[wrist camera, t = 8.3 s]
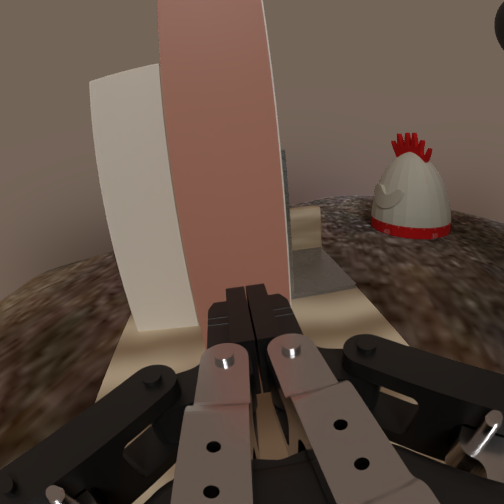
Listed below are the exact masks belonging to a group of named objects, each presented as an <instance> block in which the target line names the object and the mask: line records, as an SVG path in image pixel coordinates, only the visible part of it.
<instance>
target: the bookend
mask: <svg viewBox="0 0 504 504" xmlns="http://www.w3.org/2000/svg"><path fill="white" fill-rule="evenodd" d="M281 158H282V170H283V181H284V193H285V206H286V220H287V234H288V250H289V267H290V285H291V299H297V298H303V297H309V296H315V295H321V294H326V293H332V292H337V291H343V290H348V289H353V288H356V283H355V282H354V281H353V280H352V279H351V278H350V277H349V276H348V275H347V274H346V273H345V272H344V271H343V270H342V269H341V268H340V267H339V265H338V264H337V263H336V262H335V261H334V260H333V259H332V258H331V257H330V256H329V255H328V254H327V253H326V252H325V251H324V250H323V249H322V248H321V247H316V248H308V249H301V250H294V251H292V236H291V221H290V206H289V193H288V182H287V168H286V159H285V150H283V149H281Z"/></svg>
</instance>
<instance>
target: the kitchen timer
mask: <svg viewBox="0 0 504 504" xmlns="http://www.w3.org/2000/svg"><path fill="white" fill-rule="evenodd" d="M391 142H392V146H393V149H394V151H395V154H396V156H397V158H396V159H395V160H394V161H392V163H391V164H390V165H389V166H388V167H387V169H386V170H385V172H384V174H383V175H382V177H381V179H380V181H379V184H377V185H376V186H375V191H374V192H375V197H374V200H373V205H372V212H371V225H372V226H373V227H374V228H375V229H376V230H378V231H380V232H382V233H386V234H389V235H392V236H398V237H403V238H412V239H433V238H440V237H443V236H446V235H448V234H449V233H450V229H451V209H450V204H449V199H448V195H447V191H446V188H445V185H444V182H443V180H442V178H441V176H440V174H439V173H438V171H437V170H436V169H435V167H434V166H433V165H432V164H431V163H430V162H429V160H430V157H431V153H432V149H431V148H428V150H427V152H426V154H425V155H424V146H425V141H424V140H421V141H420V143H419V144H418V138H417V133H412V138H411V137H410V133H405V141H404V140H403V137H402V135H401V134H397V143H396V141H391Z"/></svg>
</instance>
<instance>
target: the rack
mask: <svg viewBox="0 0 504 504" xmlns="http://www.w3.org/2000/svg"><path fill="white" fill-rule="evenodd" d="M290 221H291V236H292V251H294V250H301V249H308V248H316V247H321V218H320V208H319V207H318V206H316V205H315V206H305V207H296V208H290ZM291 306H292V310H293V313H294V315H295V317H296V319H297V321H298V324H299V326H300V328H301V330H302V332H303V335H305V336H307V337H309V338H310V339H311V340H312V341H313V342H314V344H315V345H316V346H317V347H321V348H332V349H343V345H344V343H345V342H346V340H348V339H349V338H351V337H353V336H355V335H359V334H372V335H376V336H379V337H382V338H385V339H388V340H391V341H394V342H397V343H400V344H403V345H406V346H409V345H408V344H407V343H406V342H405V341H404V339H403V338H402V337H401V336H400V335H399V334H398V333H397V331H396V330H395V329H394V328H393V327H392V326H391V325H390V323H389V322H388V321H387V320H386V319H385V318H384V317H383V316H382V314H381V313H380V312H379V311H378V310H377V309H376V308H375V307H374V306H373V304H372V303H371V302H370V301H369V300H368V299H367V298H366V297H365V296H364V295H363V293H362V292H361V291H360V290H359V289H358V288H357V287H356V288H353V289H348V290H343V291H337V292H332V293H326V294H321V295H315V296H309V297H303V298H297V299H291ZM409 347H410V346H409ZM205 351H206V348H205V344H204V339H203V335H202V331H201V327H200V322H199V326H190V327H181V328H171V329H160V330H149V331H138V330H137V327H136V324H135V321H134V318H133V315H132V313H131V315H130V318H129V320H128V322H127V325H126V327H125V329H124V331H123V334H122V336H121V338H120V341H119V343H118V346H117V348H116V350H115V353H114V355H113V358H112V360H111V363H110V365H109V368H108V370H107V373H106V375H105V378H104V380H103V383H102V386H101V388H100V391H99V394H98V396H97V399H96V402H97V401H98V400H100V399H101V398H102V397H104V396H105V395H106V394H108V393H109V392H110V391H112V390H113V389H115V388H116V387H117V386H119V385H120V384H121V383H123V382H124V381H125V380H127V379H128V378H129V377H130V376H132V375H133V374H134V373H136V372H137V371H139V370H140V369H142V368H144V367H147V366H150V365H158V364H159V365H166V366H168V367H170V368H172V369H173V370H174V371H175V373H176V374H177V373H181V372H184V371H187V370H190V369H192V368H194V367H196V366H197V365H199V364H200V360H201V356H202V354H203V353H204V352H205ZM260 385H261V394H256V395H257V402H258V406H257V409H256V410H257V419H258V433H259V448H260V459H267V460H280V459H284V458H287V457H289V456H288V452H287V449H286V446H285V443H284V441H283V438H282V435H281V432H280V429H279V426H278V423H277V420H276V417H275V414H274V412H273V405H272V397H271V393H270V392H266V393H263V388H262V383H261V381H260ZM380 391H381V392H384V393H386V394H389V395H391V396H394V397H397V398H399V399H402V400H404V401H407V402H410V403H413V404H418V403H417V402H416V401H415V400H414V399H412V398H410V397H408V396H405V395H402V394H400V393H397V392H394V391H392V390H389V389H386V388H384V387H381V389H380ZM96 402H95V403H96ZM150 426H151V425H149V426H148V427H147V428H146V429H144V430H143V431H142V432H141V433H140V434H139V435H137V436H136V437H135V438H134V439H133V440H132V441H130V442H129V443H128V444H127V445H126V446H125V448H126V447H127V446H128V445H129V444H130V443H131V442H133V441H134V440H135V439H136V438H137V437H138V436H140V435H141V434H142V433H143V432H144V431H145V430H147V429H148V428H149V427H150ZM390 442H391V441H390ZM391 444H395V445H399V444H396V443H394V442H391ZM399 446H401V445H399ZM402 447H404V446H402ZM404 448H406V447H404ZM407 449H409V448H407ZM409 450H411V449H409ZM411 451H414V450H411ZM414 452H416V453H418V454H421V455H423V456H426V457H428V458H431V459H433V460H436V461H438V462H441V463H444V464H446V463H445V461H442V460H439V459H436V458H433V457H430V456H427V455H425V454H422V453H419V452H417V451H414ZM175 468H176V463H175V464H174V465H173V466H172V467H171V468H170V469H169V470H168V471H167V472H166V473H165V474H164V475H163V476H162V477H161V478H159V479H158V480H157V481H156V482H155V483H154V484H153V485H152V486H151V487H150V488H149V489H148V490H147V491H145V492H144V493H143V494H142V495H141V496H140V497H139V498H138V499H136V500H135V501H134V502H133V503H132V504H144V503H145V502H146V501H147V500H148V499H149V498H150V497H151V496H152V495H153V494H154V493H155V492H156V491H157V490H158V489H159V488H161V487H162V486H163V485H165V484H166V483H168V482H169V481H171V480H173V479H174V474H175Z"/></svg>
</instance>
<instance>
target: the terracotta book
mask: <svg viewBox="0 0 504 504" xmlns="http://www.w3.org/2000/svg"><path fill="white" fill-rule="evenodd" d="M158 28H159V48H160V64H161V78H162V90H163V101H164V111H165V120H166V129H167V138H168V146H169V154H170V162H171V169H172V176H173V183H174V190H175V197H176V203H177V209H178V215H179V221H180V227H181V233H182V239H183V244H184V250H185V255H186V260H187V265H188V270H189V275H190V280H191V285H192V290H193V295H194V300H195V304H196V309H197V313H198V318H199V322H200V327H201V331H202V335H203V339H204V344H205V348H206V350H207V329H208V310H209V308H210V307H211V306H212V304H213V303H215V302H223V301H226V288H234V287H241V286H244V289H245V294H246V287H245V286H248V285H255V284H262V283H264V285H265V288H266V291H267V293H268V295H272V294H281V295H282V296H284V297H285V298H287V299H288V302H289V304H290V306H291V285H290V267H289V250H288V234H287V220H286V206H285V193H284V181H283V170H282V158H281V148H280V137H279V127H278V118H277V108H276V99H275V90H274V82H273V73H272V65H271V58H270V49H269V43H268V34H267V28H266V21H265V13H264V7H263V0H158ZM246 299H247V296H246ZM291 308H292V306H291ZM258 369H259V368H258ZM259 377H260V373H259ZM260 381H261V378H260Z"/></svg>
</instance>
